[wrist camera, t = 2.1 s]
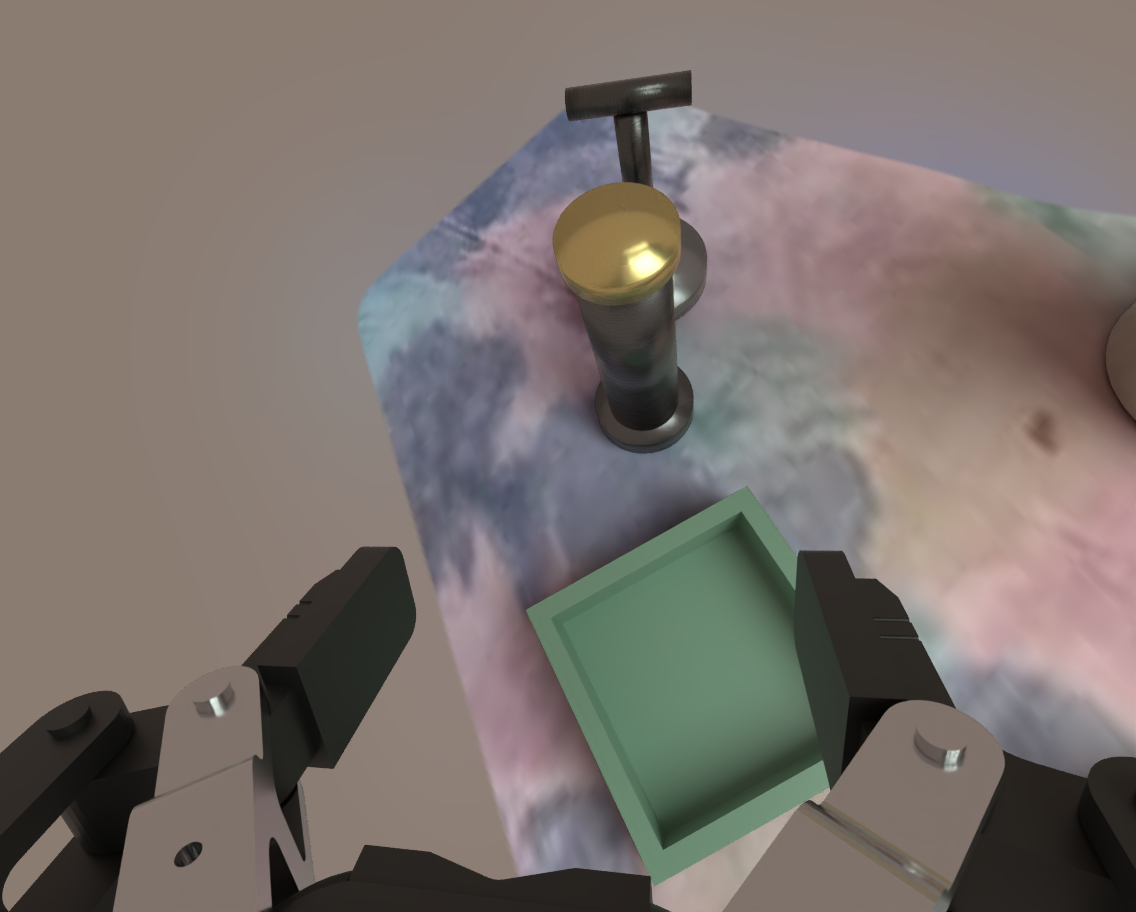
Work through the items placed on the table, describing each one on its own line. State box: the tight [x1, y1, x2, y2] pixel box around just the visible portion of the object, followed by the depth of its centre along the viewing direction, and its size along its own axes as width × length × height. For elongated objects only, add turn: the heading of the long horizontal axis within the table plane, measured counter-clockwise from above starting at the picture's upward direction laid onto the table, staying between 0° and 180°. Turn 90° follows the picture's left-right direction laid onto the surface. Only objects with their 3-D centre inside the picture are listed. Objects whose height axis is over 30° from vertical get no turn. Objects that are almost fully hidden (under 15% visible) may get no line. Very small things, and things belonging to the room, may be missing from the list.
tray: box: [526, 486, 830, 886], centre depth 24 cm, size 11×11×3 cm
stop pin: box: [553, 182, 693, 453], centre depth 25 cm, size 5×5×13 cm
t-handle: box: [565, 70, 707, 321], centre depth 28 cm, size 7×6×11 cm
